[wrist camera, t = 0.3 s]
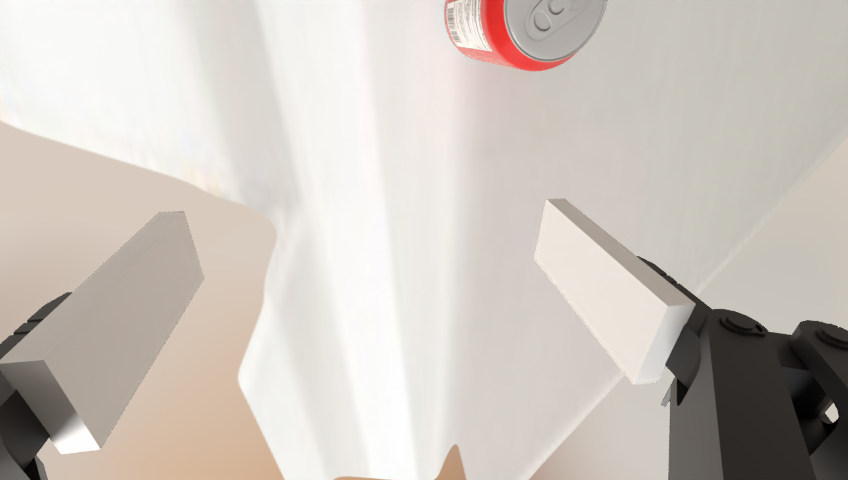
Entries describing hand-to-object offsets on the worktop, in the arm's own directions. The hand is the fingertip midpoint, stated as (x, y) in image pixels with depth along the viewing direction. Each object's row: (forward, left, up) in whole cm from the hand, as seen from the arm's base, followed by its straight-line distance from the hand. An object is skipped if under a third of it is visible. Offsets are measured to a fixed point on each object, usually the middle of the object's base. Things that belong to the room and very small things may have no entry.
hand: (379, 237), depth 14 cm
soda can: (-8, +12, -27) cm, 31 cm away
